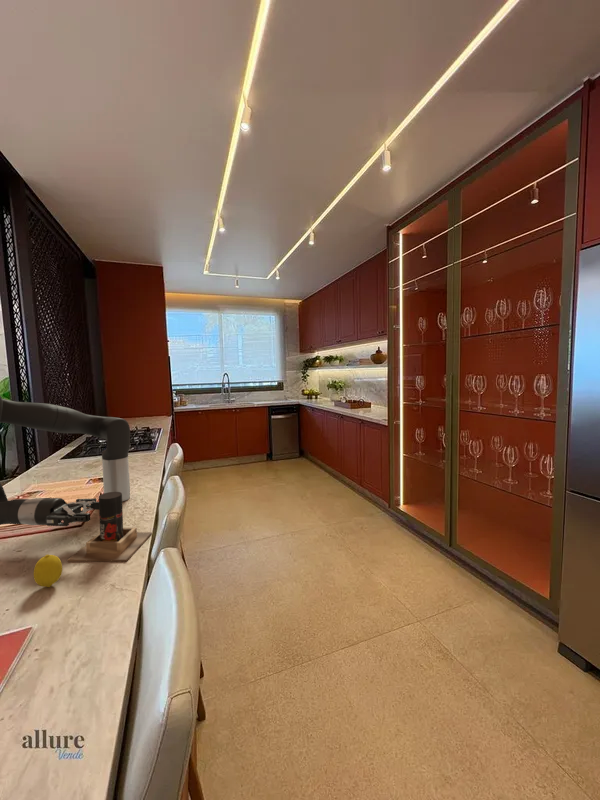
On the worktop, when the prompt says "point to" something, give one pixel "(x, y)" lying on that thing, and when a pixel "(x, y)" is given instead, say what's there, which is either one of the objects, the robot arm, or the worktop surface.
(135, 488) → the worktop surface
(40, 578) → the lemon
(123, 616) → the worktop surface
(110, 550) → the socket
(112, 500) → the deodorant
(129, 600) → the worktop surface
